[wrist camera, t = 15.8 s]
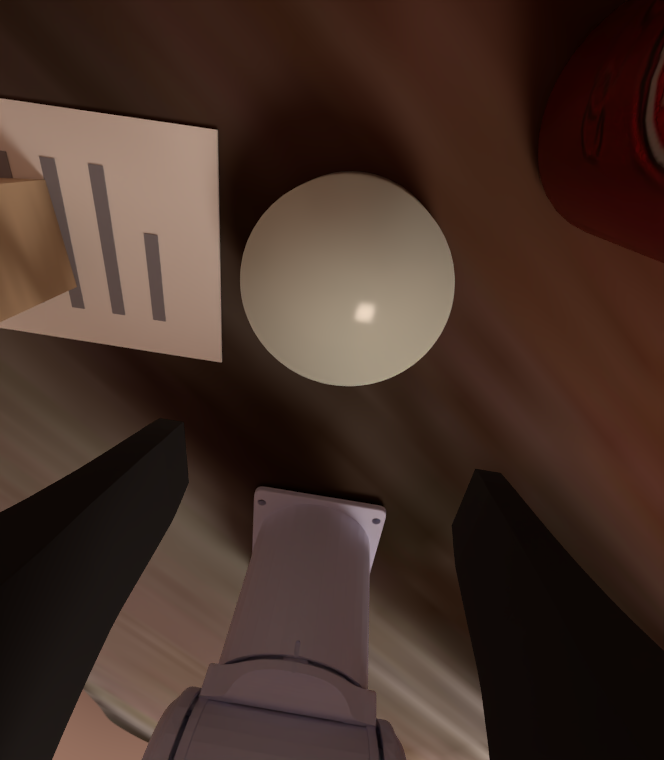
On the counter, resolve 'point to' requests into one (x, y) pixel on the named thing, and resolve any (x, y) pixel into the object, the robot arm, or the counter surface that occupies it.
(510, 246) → the counter surface
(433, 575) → the counter surface
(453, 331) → the counter surface
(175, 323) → the letter
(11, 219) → the maple block
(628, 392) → the counter surface
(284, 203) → the puck
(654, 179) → the soda can
